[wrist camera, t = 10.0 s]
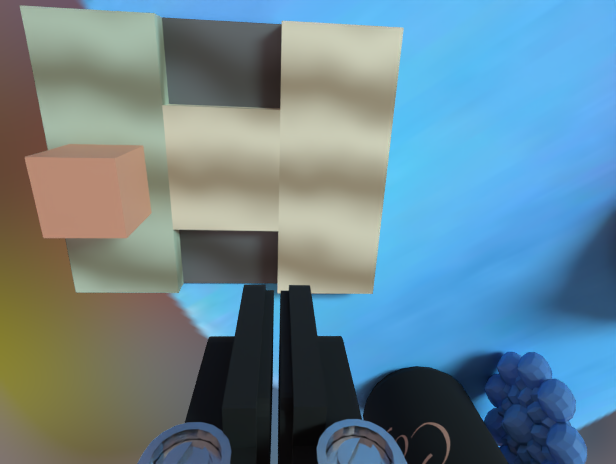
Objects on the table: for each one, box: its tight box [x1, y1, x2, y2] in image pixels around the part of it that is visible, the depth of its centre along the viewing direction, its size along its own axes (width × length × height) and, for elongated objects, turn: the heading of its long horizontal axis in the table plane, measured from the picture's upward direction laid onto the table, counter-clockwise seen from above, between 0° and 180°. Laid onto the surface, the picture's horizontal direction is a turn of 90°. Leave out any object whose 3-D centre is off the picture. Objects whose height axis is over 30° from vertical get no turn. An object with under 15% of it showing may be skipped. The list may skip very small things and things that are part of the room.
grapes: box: [484, 352, 587, 464], centre depth 34 cm, size 12×7×12 cm, turn 169°
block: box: [25, 144, 152, 238], centre depth 26 cm, size 5×5×5 cm
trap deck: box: [20, 6, 403, 294], centre depth 29 cm, size 20×24×2 cm
